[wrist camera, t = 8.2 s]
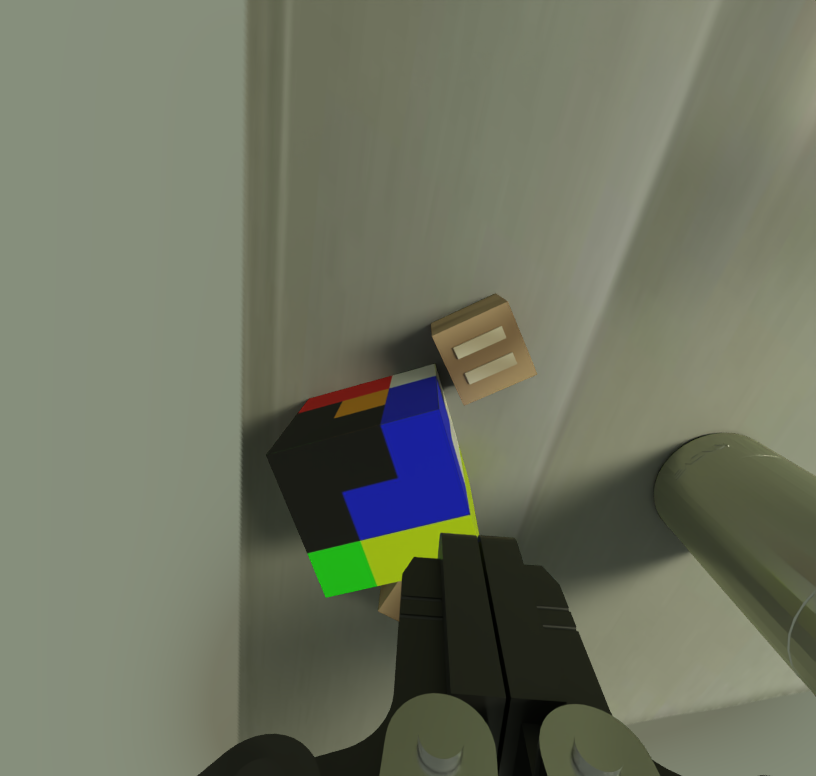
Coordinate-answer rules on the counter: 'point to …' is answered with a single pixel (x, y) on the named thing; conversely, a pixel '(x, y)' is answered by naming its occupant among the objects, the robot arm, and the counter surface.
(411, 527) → the puzzle toy
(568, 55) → the counter surface
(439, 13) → the counter surface
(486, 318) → the two bar block
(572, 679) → the robot arm
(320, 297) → the counter surface
